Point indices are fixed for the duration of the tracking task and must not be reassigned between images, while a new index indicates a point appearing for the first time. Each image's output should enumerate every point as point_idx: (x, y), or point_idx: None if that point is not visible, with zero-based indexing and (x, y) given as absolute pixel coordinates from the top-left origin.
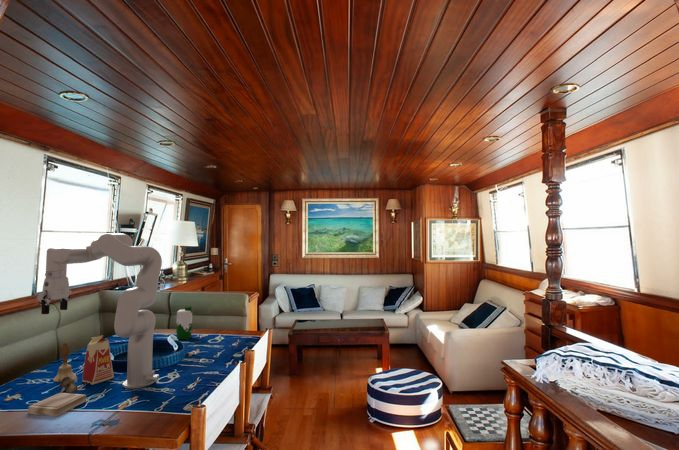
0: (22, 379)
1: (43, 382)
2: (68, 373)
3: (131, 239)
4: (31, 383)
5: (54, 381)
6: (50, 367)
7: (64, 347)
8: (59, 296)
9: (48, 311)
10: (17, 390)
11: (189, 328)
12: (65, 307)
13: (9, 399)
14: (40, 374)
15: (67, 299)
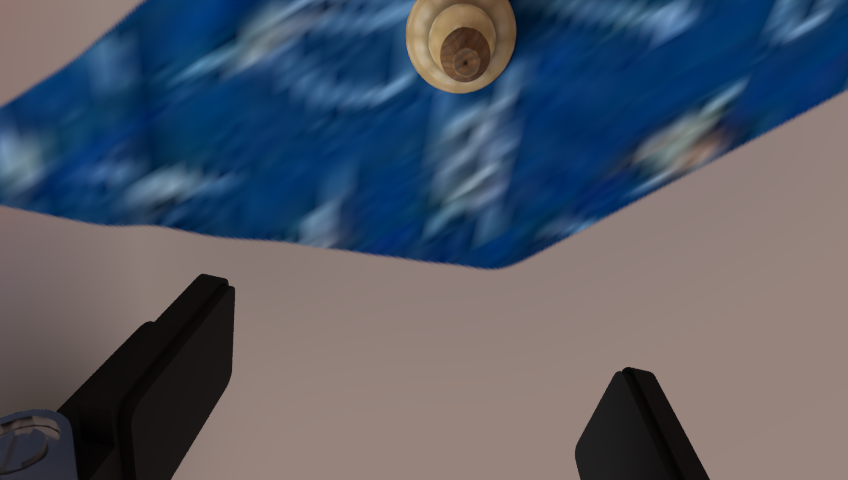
0: (435, 247)
1: (504, 121)
2: (482, 3)
3: None
4: (504, 174)
5: (505, 66)
6: (273, 219)
7: (488, 51)
8: None
9: (660, 401)
10: (590, 183)
11: None
12: (212, 318)
13: (711, 148)
14: (375, 207)
15: (12, 464)
